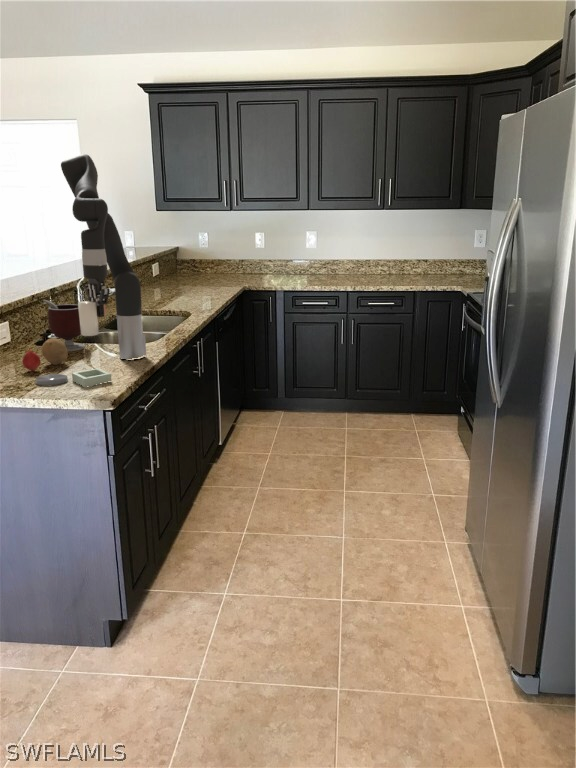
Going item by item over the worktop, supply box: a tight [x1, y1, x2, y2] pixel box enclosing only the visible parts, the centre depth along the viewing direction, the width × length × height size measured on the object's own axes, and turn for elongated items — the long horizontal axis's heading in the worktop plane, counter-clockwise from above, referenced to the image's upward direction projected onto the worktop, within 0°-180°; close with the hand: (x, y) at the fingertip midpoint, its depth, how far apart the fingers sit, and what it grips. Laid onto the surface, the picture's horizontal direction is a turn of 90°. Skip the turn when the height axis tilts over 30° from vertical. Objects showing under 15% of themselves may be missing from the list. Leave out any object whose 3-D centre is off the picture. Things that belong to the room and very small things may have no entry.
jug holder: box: [71, 367, 112, 388], centre depth 200 cm, size 9×9×3 cm
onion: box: [22, 349, 41, 372], centre depth 211 cm, size 6×6×8 cm
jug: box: [77, 300, 107, 337], centre depth 195 cm, size 9×6×10 cm, turn 133°
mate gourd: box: [42, 299, 86, 352], centre depth 243 cm, size 16×14×20 cm
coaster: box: [35, 373, 69, 386], centre depth 200 cm, size 10×10×1 cm
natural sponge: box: [40, 337, 69, 366], centre depth 220 cm, size 9×9×10 cm
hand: (99, 316), depth 197 cm, fingers closed on jug
